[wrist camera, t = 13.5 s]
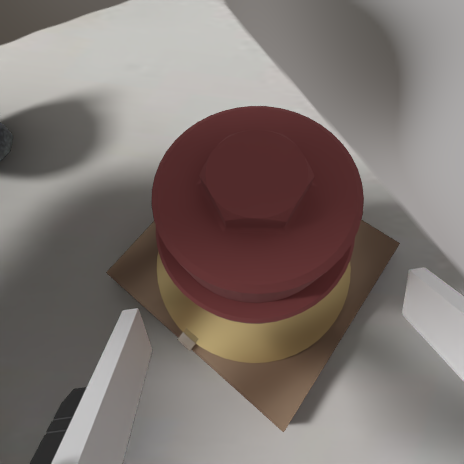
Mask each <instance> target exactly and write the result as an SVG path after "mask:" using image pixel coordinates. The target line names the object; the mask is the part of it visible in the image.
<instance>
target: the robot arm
mask: <svg viewBox="0 0 464 464" xmlns="http://www.w3.org/2000/svg"><path fill="white" fill-rule="evenodd" d="M402 315H403V316H404V317H405V318H406V319H407V320H408V322H409V323H410V324H411V325H412V326H413V327H414V328H415V329H416V330H417V331H418V332H419V333H420V335H421V336H422V337H423V338H424V339H425V340H426V341H427V342H428V343H429V344H430V345H431V347H432V348H433V349H434V350H435V351H436V352H437V353H438V354H439V355H440V356H441V357H442V358H443V360H444V361H445V362H446V363H447V364H448V365H449V366H450V367H451V368H452V369H453V370H454V371H455V373H456V374H457V375H458V376H459V377H460V378H461V379H462V380H463V381H464V296H463V295H462V294H460V293H459V292H457V291H456V290H455V289H453V288H452V287H451V286H449V285H448V284H447V283H445V282H444V281H443V280H441V279H440V278H439V277H437V276H436V275H435V274H433V273H432V272H431V271H429V270H428V269H426V268H425V267H422V268H415V269H409V272H408V278H407V285H406V291H405V297H404V304H403V310H402ZM151 354H152V347H151V344H150V341H149V338H148V335H147V332H146V329H145V326H144V323H143V320H142V317H141V314H140V311H139V308H135V309H128V310H123V311H122V313H121V315H120V317H119V319H118V321H117V323H116V326H115V328H114V330H113V332H112V334H111V336H110V339H109V341H108V343H107V345H106V347H105V349H104V351H103V354H102V356H101V358H100V360H99V362H98V364H97V366H96V369H95V371H94V373H93V375H92V377H91V379H90V382H89V384H88V386H87V387H85V388H78V389H74V390H73V391H72V392H71V393H70V394H69V395H68V396H67V398H66V399H65V400H64V401H63V402H62V403H61V405H60V407H59V409H58V411H57V413H56V415H55V417H54V420H53V422H51V424H50V426H49V428H48V430H47V434H46V435H45V436H44V438H43V439H42V441H41V443H40V445H39V447H38V449H37V451H36V453H35V455H34V457H33V458H32V460H31V462H30V464H123V461H124V457H125V453H126V449H127V446H128V442H129V438H130V434H131V430H132V427H133V423H134V419H135V415H136V411H137V408H138V404H139V400H140V396H141V392H142V388H143V385H144V381H145V377H146V373H147V369H148V366H149V362H150V358H151Z"/></svg>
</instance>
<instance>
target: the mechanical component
mask: <svg viewBox="0 0 464 464" xmlns="http://www.w3.org/2000/svg"><path fill="white" fill-rule="evenodd" d="M363 202H364V197H363V187H362V182H361V178H360V175H359V172H358V169H357V167H356V165H355V163H354V161H353V159H352V157H351V155H350V154H349V152H348V151H347V149H346V148H345V147H344V145H343V144H342V143H341V142H340V141H339V140H338V139H337V138H336V137H335V136H334V135H333V134H332V133H331V132H330V131H328V130H327V129H326V128H324V127H323V126H322V125H320V124H319V123H317V122H315V121H313V120H312V119H310V118H308V117H305V116H303V115H301V114H298V113H296V112H292V111H289V110H285V109H281V108H274V107H267V106H248V107H239V108H234V109H230V110H225V111H222V112H219V113H216V114H214V115H211V116H209V117H207V118H205V119H203V120H201V121H199V122H197V123H196V124H194V125H193V126H192V127H190V128H189V129H187V130H186V131H185V132H184V133H183V134H182V135H180V136H179V137H178V138H177V139H176V140H175V141H174V143H173V144H172V145H171V146H170V148H169V149H168V150H167V151H166V153H165V155H164V157H163V159H162V160H161V162H160V164H159V167H158V169H157V172H156V175H155V178H154V183H153V188H152V210H153V217H154V221H155V224H156V241H157V248H158V251H159V255H160V259H161V261H162V264H163V266H164V268H165V270H166V272H167V273H168V275H169V277H170V278H171V280H172V281H173V283H174V284H175V285H176V286H177V287H178V289H179V290H180V291H181V292H182V293H183V294H184V295H185V296H186V297H188V298H189V299H190V300H191V301H192V302H194V303H195V304H196V305H198V306H199V307H201V308H203V309H204V310H206V311H208V312H210V313H212V314H214V315H216V316H218V317H221V318H224V319H227V320H230V321H235V322H241V323H249V324H263V323H270V322H277V321H280V320H284V319H287V318H290V317H293V316H295V315H298V314H300V313H302V312H304V311H306V310H308V309H309V308H311V307H313V306H314V305H316V304H317V303H318V302H320V301H321V300H322V299H323V298H325V297H326V296H327V295H328V294H329V293H330V292H331V291H332V290H333V288H334V287H335V286H336V285H337V284H338V282H339V281H340V279H341V278H342V276H343V275H344V273H345V271H346V269H347V267H348V264H349V262H350V260H351V256H352V252H353V248H354V242H355V236H356V234H357V232H358V230H359V226H360V222H361V218H362V215H363Z"/></svg>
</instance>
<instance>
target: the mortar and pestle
mask: <svg viewBox="0 0 464 464" xmlns="http://www.w3.org/2000/svg"><path fill="white" fill-rule="evenodd" d="M12 139H13V135H12V134H11V133H10V131H9V130H8V129H7V128H6V127H5V125H3V124H2V123H1V122H0V161H1V160H2V159H3V158H4V157H5V156H6V155H7V154H8V153H9V152H10V151H11V145H12Z"/></svg>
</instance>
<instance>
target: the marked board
mask: <svg viewBox="0 0 464 464" xmlns="http://www.w3.org/2000/svg"><path fill="white" fill-rule="evenodd" d="M399 244H400V243H399V242H397V241H395V240H394V239H392V238H390V237H389V236H387V235H385V234H384V233H382V232H381V231H379V230H377V229H376V228H374V227H372V226H371V225H369V224H367V223H366V222H364V221H363V220H361V222H360V226H359V230H358V232H357V234H356V236H355V242H354V248H353V252H352V256H351V260H350V262H349V264H348V267H347V269H346V271H345V273H344V275H343V276H342V278H341V279H340V281H339V282H338V284H337V285H336V286H335V287H334V288H333V290H332V291H331V292H330V293H329V294H328V295H327V296H326V297H325V298H323V299H322V300H321V301H320V302H318V303H317V304H316V305H314V306H313V307H311V308H309V309H308V310H306V311H304V312H302V313H300V314H298V315H295V316H293V317H290V318H287V319H284V320H280V321H277V322H270V323H263V324H249V323H241V322H235V321H230V320H227V319H224V318H221V317H218V316H216V315H214V314H212V313H210V312H208V311H206V310H204V309H203V308H201V307H199V306H198V305H196V304H195V303H194V302H192V301H191V300H190V299H189V298H188V297H186V296H185V295H184V294H183V293H182V292H181V291H180V290H179V289H178V287H177V286H176V285H175V284H174V283H173V281H172V280H171V278H170V277H169V275H168V273H167V272H166V270H165V268H164V266H163V264H162V261H161V259H160V255H159V251H158V248H157V241H156V224H155V221H154V222H153V223H152V224H151V225H150V226H149V227H148V228H147V229H146V230H145V231H144V232H143V234H142V235H141V236H140V237H139V238H138V239H137V240H136V241H135V242H134V243H133V244H132V245H131V246H130V247H129V249H128V250H127V251H126V252H125V253H124V254H123V255H122V256H121V257H120V258H119V259H118V260H117V261H116V263H115V264H114V265H113V266H112V267H111V268H110V269H109V270H108V271H107V272H106V273H107V274H108V275H109V276H110V277H111V278H112V279H114V280H115V281H116V282H117V283H118V284H119V285H120V286H121V287H122V288H124V289H125V290H126V291H127V292H128V293H129V294H130V295H131V296H133V297H134V298H135V299H136V300H137V301H138V302H139V303H140V304H141V305H143V306H144V307H145V308H146V309H147V310H148V311H149V312H150V313H151V314H153V315H154V316H155V317H156V318H157V319H158V320H159V321H160V322H161V323H163V324H164V325H165V326H166V327H167V328H168V329H169V330H170V331H171V332H173V333H174V334H175V335H176V336H177V337H178V339H177V340H178V341H179V342H180V343H181V344H183V345H184V346H185V347H186V348H187V349H188V350H189V351H191V350H193V351H194V352H195V353H196V354H197V355H198V356H199V357H200V358H201V359H203V360H204V361H205V362H206V363H207V364H208V365H209V366H210V367H211V368H213V369H214V370H215V371H216V372H217V373H218V374H219V375H220V376H221V377H223V378H224V379H225V380H226V381H227V382H228V383H229V384H230V385H231V386H233V387H234V388H235V389H236V390H237V391H238V392H239V393H240V394H241V395H243V396H244V397H245V398H246V399H247V400H248V401H249V402H250V403H252V404H253V405H254V406H255V407H256V408H257V409H258V410H259V411H260V412H262V413H263V414H264V415H265V416H266V417H267V418H268V419H269V420H270V421H272V422H273V423H274V424H275V425H276V426H277V427H278V428H279V429H280V430H282V431H283V432H284V431H285V429H286V428H287V426H288V424H289V423H290V421H291V420H292V418H293V416H294V415H295V413H296V411H297V410H298V408H299V407H300V405H301V403H302V402H303V400H304V398H305V397H306V395H307V394H308V392H309V390H310V389H311V387H312V385H313V384H314V382H315V381H316V379H317V377H318V376H319V374H320V372H321V371H322V369H323V368H324V366H325V364H326V363H327V361H328V359H329V358H330V356H331V354H332V353H333V351H334V350H335V348H336V346H337V345H338V343H339V341H340V340H341V338H342V337H343V335H344V333H345V332H346V330H347V328H348V327H349V325H350V324H351V322H352V320H353V319H354V317H355V315H356V314H357V312H358V311H359V309H360V307H361V306H362V304H363V302H364V301H365V299H366V298H367V296H368V294H369V293H370V291H371V289H372V288H373V286H374V284H375V283H376V281H377V280H378V278H379V276H380V275H381V273H382V271H383V270H384V268H385V267H386V265H387V263H388V262H389V260H390V258H391V257H392V255H393V254H394V252H395V250H396V249H397V247H398V245H399Z"/></svg>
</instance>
